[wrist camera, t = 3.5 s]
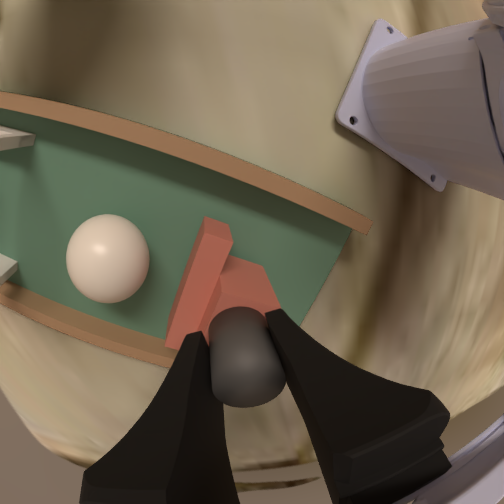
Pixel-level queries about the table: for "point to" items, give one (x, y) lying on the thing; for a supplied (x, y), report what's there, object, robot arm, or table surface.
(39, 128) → the pitch
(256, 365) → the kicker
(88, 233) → the ball
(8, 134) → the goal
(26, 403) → the table surface
